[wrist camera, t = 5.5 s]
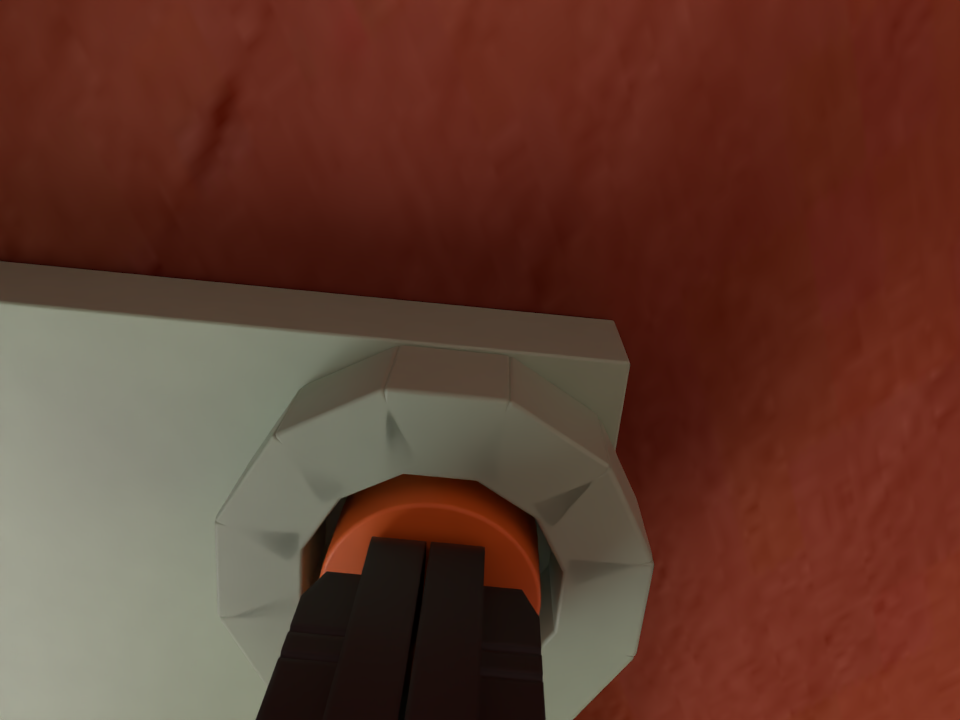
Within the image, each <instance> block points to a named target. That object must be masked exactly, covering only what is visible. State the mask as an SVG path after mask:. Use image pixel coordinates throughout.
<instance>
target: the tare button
mask: <svg viewBox="0 0 960 720" xmlns="http://www.w3.org/2000/svg"><path fill="white" fill-rule="evenodd" d="M372 536H375V537H385V538H396V539H407V540H417V541H426V542H427V545H426V560H425V572H424V585H425V578H426V572H427V565H428V558H429V551H430V545H431V542H441V543H451V544H462V545H473V546H483V547H485V564H484V586H491V587H501V588H512V589H522V590H523V592H524V594H525V595H526V597H527V598H528V600H529V602H530V603H531V605H532V606H533V608H534V609H535V611H536V613H537V614H538V616H539V613H540V608H541V585H540V569H539V552H538V536H537V526H536V522H535V518H534V517H533V516H531V515H530V514H528V513H526V512H525V511H523V510H522V509H520V508H519V507H517V506H515V505H514V504H512V503H511V502H509V501H508V500H506V499H504V498H503V497H501V496H500V495H498V494H497V493H495V492H493V491H492V490H490V489H489V488H487V487H486V486H484V485H482V484H481V483H479V482H478V481H474V480H463V479H453V478H442V477H432V476H422V475H411V474H402V475H399V476H397V477H394V478H392V479H389V480H387V481H384V482H381V483H379V484H376V485H374V486H371V487H369V488H366V489H364V490H361V491H359V492H356V493H354V494H351V495H349V496H348V497H347V499H346V501H345V504H344V506H343V508H342V511H341V514H340V517H339V520H338V522H337V525H336V528H335V531H334V534H333V537H332V539H331V542H330V545H329V548H328V551H327V554H326V556H325V559H324V562H323V565H322V569H321V573H320V577H321V576H322V575H323V574H324V573H325V572H327V571H329V572H339V573H350V574H360V575H361V573H362V570H363V566H364V562H365V559H366V555H367V551H368V547H369V544H370V540H371V538H372ZM320 577H319V578H320ZM424 585H423V592H424ZM422 599H423V597H422Z"/></svg>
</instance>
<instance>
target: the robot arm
mask: <svg viewBox="0 0 960 720" xmlns="http://www.w3.org/2000/svg"><path fill="white" fill-rule="evenodd" d="M426 545H427V542H426V541H417V540H407V539H396V538H385V537H375V536H372V538H371V540H370V544H369V547H368V551H367V555H366V559H365V562H364V566H363V570H362V573H361V575H360V574H350V573H339V572H329V571H327V572H325V573H324V574H323V575H322V576H321V577H320V578H319V579H318V580H317V581H316V582H315V583H314V584H313V585H312V586H311V587H310V588H309V589H307V590H306V591H305V592H304V593H303V594H302V595H301V597H300V600H299V603H298V605H297V608H296V611H295V614H294V616H293V619H292V622H291V625H290V630H289V632H288V633H287V635H286V638H285V641H284V644H283V646H282V649H281V654H280V658H279V657H278V660H277V663H276V665H275V668H274V671H273V674H272V676H271V679H270V682H269V685H268V687H267V690H266V693H265V695H264V698H263V701H262V704H261V706H260V709H259V712H258V715H257V717H256V720H546V716H545V699H544V683H543V666H542V655H541V633H540V617H539V616H538V614H537V613H536V611H535V609H534V608H533V606H532V605H531V603H530V602H529V600H528V598H527V597H526V595H525V594H524V592H523V590H522V589H512V588H501V587H491V586H484V564H485V547H483V546H473V545H462V544H451V543H441V542H431V545H430V551H429V558H428V565H427V572H426V578H425V585H424V572H425V560H426ZM423 585H424V592H423ZM422 597H423V599H422Z"/></svg>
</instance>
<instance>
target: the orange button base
mask: <svg viewBox="0 0 960 720" xmlns="http://www.w3.org/2000/svg"><path fill="white" fill-rule="evenodd" d="M629 369H630V362H629V359H628V356H627V354H626V351H625V349H624V346H623V343H622V341H621V338H620V335H619V333H618V330H617V328H616V325H615V322H614V321H612V320H603V319H593V318H583V317H572V316H562V315H551V314H541V313H531V312H520V311H510V310H500V309H489V308H479V307H469V306H458V305H448V304H438V303H427V302H417V301H407V300H396V299H386V298H376V297H365V296H355V295H345V294H334V293H324V292H314V291H303V290H293V289H283V288H272V287H262V286H252V285H241V284H231V283H221V282H210V281H200V280H190V279H179V278H169V277H158V276H148V275H138V274H127V273H117V272H107V271H96V270H86V269H76V268H65V267H55V266H45V265H34V264H24V263H14V262H3V261H0V720H256V717H257V715H258V712H259V709H260V706H261V704H262V701H263V698H264V695H265V693H266V690H267V687H268V685H269V682H270V679H271V676H272V674H273V671H274V668H275V665H276V663H277V660H278V657H279V658H280V654H281V649H282V646H283V644H284V641H285V638H286V635H287V633H288V632H289V630H290V625H291V622H292V619H293V616H294V614H295V611H296V608H297V605H298V603H299V600H300V597H301V595H302V594H303V593H304V592H305V591H306V590H307V589H309V588H310V587H311V586H312V585H313V584H314V583H315V582H316V581H317V580H318V579H319V577H320V573H321V569H322V565H323V562H324V559H325V556H326V554H327V551H328V548H329V545H330V542H331V539H332V537H333V534H334V531H335V528H336V525H337V522H338V520H339V517H340V514H341V511H342V508H343V506H344V504H345V501H346V499H347V497H348V496H349V495H351V494H354V493H356V492H359V491H361V490H364V489H366V488H369V487H371V486H374V485H376V484H379V483H381V482H384V481H387V480H389V479H392V478H394V477H397V476H399V475H402V474H411V475H422V476H432V477H442V478H453V479H463V480H474V481H478V482H479V483H481V484H482V485H484V486H486V487H487V488H489V489H490V490H492V491H493V492H495V493H497V494H498V495H500V496H501V497H503V498H504V499H506V500H508V501H509V502H511V503H512V504H514V505H515V506H517V507H519V508H520V509H522V510H523V511H525V512H526V513H528V514H530V515H531V516H533V517H534V518H535V522H536V526H537V536H538V552H539V569H540V585H541V608H540V613H539V617H540V633H541V655H542V666H543V683H544V699H545V716H546V720H573V719H574V718H575V717H576V716H577V715H578V714H579V713H580V712H581V711H582V710H583V709H584V708H585V707H586V706H587V705H588V704H589V703H590V702H591V701H592V700H593V699H594V698H595V697H596V696H597V695H598V694H599V693H600V692H601V691H602V690H603V689H604V688H605V687H606V686H607V685H608V684H609V683H610V682H611V681H612V680H613V679H614V678H615V677H616V676H617V675H618V674H619V673H620V672H621V671H622V670H623V669H624V668H625V667H626V666H627V665H628V664H629V663H630V662H631V661H632V660H633V657H634V656H635V655H636V653H637V648H638V643H639V638H640V633H641V628H642V623H643V618H644V613H645V608H646V604H647V599H648V594H649V589H650V584H651V579H652V574H653V569H654V562H653V558H652V552H651V548H650V545H649V541H648V538H647V534H646V531H645V527H644V524H643V520H642V517H641V513H640V509H639V506H638V502H637V499H636V497H635V494H634V492H633V490H632V488H631V486H630V483H629V481H628V479H627V477H626V474H625V472H624V470H623V468H622V466H621V463H620V461H619V459H618V457H617V454H616V452H615V451H616V445H617V439H618V433H619V427H620V421H621V415H622V410H623V404H624V398H625V392H626V386H627V380H628V374H629Z"/></svg>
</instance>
